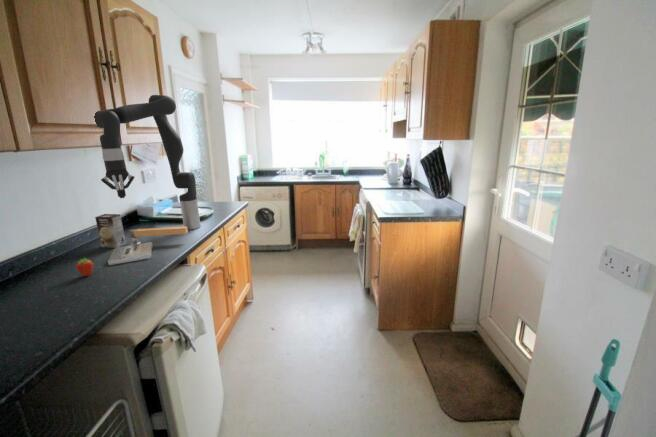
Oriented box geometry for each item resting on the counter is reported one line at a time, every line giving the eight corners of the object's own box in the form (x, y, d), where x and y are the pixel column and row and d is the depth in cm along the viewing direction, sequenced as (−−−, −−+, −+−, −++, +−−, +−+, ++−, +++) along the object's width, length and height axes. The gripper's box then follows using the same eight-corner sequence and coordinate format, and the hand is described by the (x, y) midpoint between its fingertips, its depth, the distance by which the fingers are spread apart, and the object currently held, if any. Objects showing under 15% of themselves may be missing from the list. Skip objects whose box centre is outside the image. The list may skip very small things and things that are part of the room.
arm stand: (130, 244, 160) (128, 236, 159) (141, 242, 162) (140, 234, 161) (129, 247, 155) (127, 239, 154) (140, 245, 158) (139, 237, 156)
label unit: (115, 251, 150) (114, 247, 149) (152, 245, 157) (151, 241, 156) (108, 265, 135) (107, 260, 134) (150, 258, 141) (149, 253, 141)
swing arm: (128, 237, 155) (127, 231, 155) (131, 234, 159) (130, 229, 158) (185, 233, 158) (184, 228, 158) (188, 231, 162) (187, 226, 161)
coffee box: (101, 247, 156) (93, 217, 152) (110, 243, 162) (104, 213, 158) (117, 247, 155) (111, 217, 151) (127, 243, 161) (120, 213, 157)
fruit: (76, 279, 122) (71, 260, 120) (83, 273, 127) (79, 255, 125) (91, 277, 123) (87, 259, 121) (98, 272, 128) (93, 254, 126)
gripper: (132, 157, 140) (140, 194, 145) (97, 159, 135) (106, 197, 140) (130, 158, 134) (138, 197, 139) (93, 160, 128) (103, 201, 133)
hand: (122, 197), depth 139 cm, fingers closed
